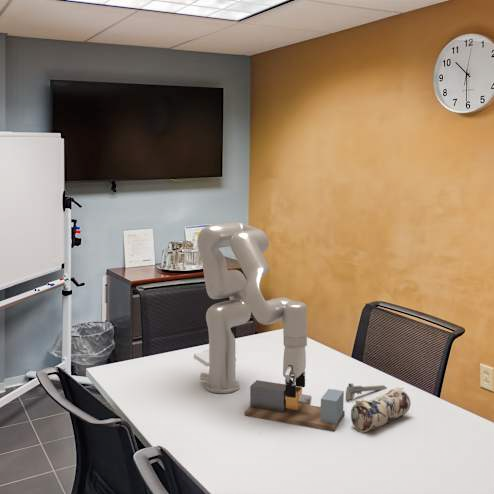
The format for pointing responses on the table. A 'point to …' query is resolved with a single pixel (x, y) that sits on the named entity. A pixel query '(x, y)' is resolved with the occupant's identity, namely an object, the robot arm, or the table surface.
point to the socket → (332, 406)
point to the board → (296, 416)
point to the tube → (297, 400)
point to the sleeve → (268, 396)
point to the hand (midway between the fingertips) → (295, 391)
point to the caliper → (360, 390)
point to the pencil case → (379, 410)
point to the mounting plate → (204, 357)
